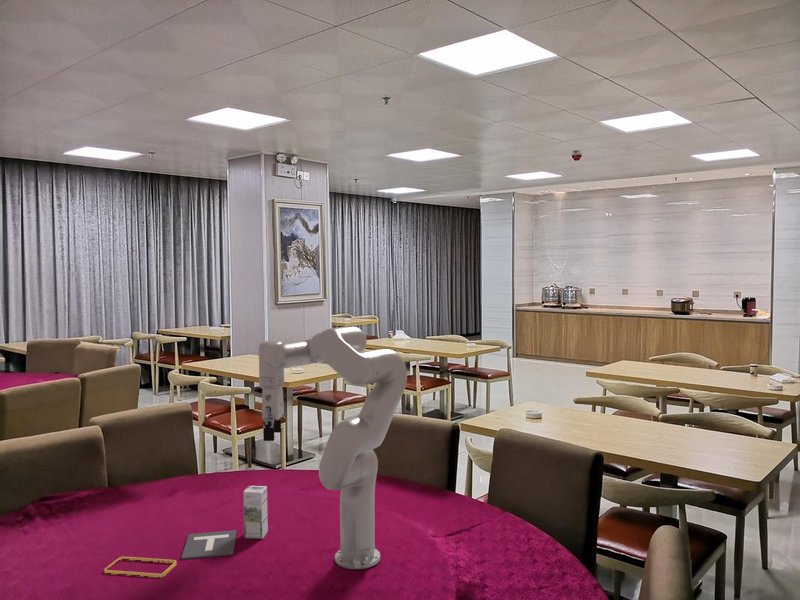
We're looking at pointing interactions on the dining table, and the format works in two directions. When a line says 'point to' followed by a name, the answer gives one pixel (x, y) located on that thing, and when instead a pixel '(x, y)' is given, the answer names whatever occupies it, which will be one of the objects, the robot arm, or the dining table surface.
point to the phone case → (140, 572)
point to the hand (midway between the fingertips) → (272, 436)
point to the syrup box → (255, 512)
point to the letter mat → (209, 544)
